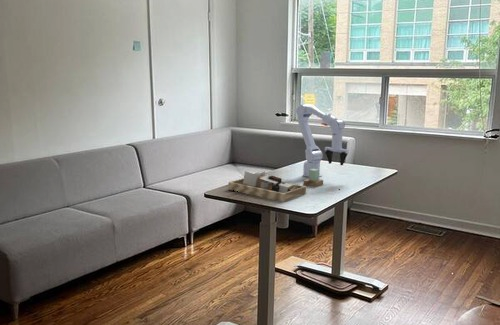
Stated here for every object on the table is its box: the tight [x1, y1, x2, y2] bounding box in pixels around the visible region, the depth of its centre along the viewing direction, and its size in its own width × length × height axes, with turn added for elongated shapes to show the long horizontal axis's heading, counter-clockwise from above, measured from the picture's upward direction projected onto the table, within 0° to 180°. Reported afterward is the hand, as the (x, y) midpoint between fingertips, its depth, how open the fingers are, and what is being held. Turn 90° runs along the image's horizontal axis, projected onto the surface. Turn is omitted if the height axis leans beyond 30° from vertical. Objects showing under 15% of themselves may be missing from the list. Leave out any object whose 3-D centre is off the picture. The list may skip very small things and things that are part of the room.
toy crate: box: [228, 177, 307, 203], centre depth 252 cm, size 36×20×4 cm, turn 51°
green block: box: [308, 169, 320, 181], centre depth 268 cm, size 4×4×6 cm
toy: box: [243, 171, 298, 193], centre depth 252 cm, size 12×10×30 cm
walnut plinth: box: [302, 178, 324, 188], centre depth 269 cm, size 8×8×3 cm
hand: (335, 164), depth 276 cm, fingers open, 7 cm apart
